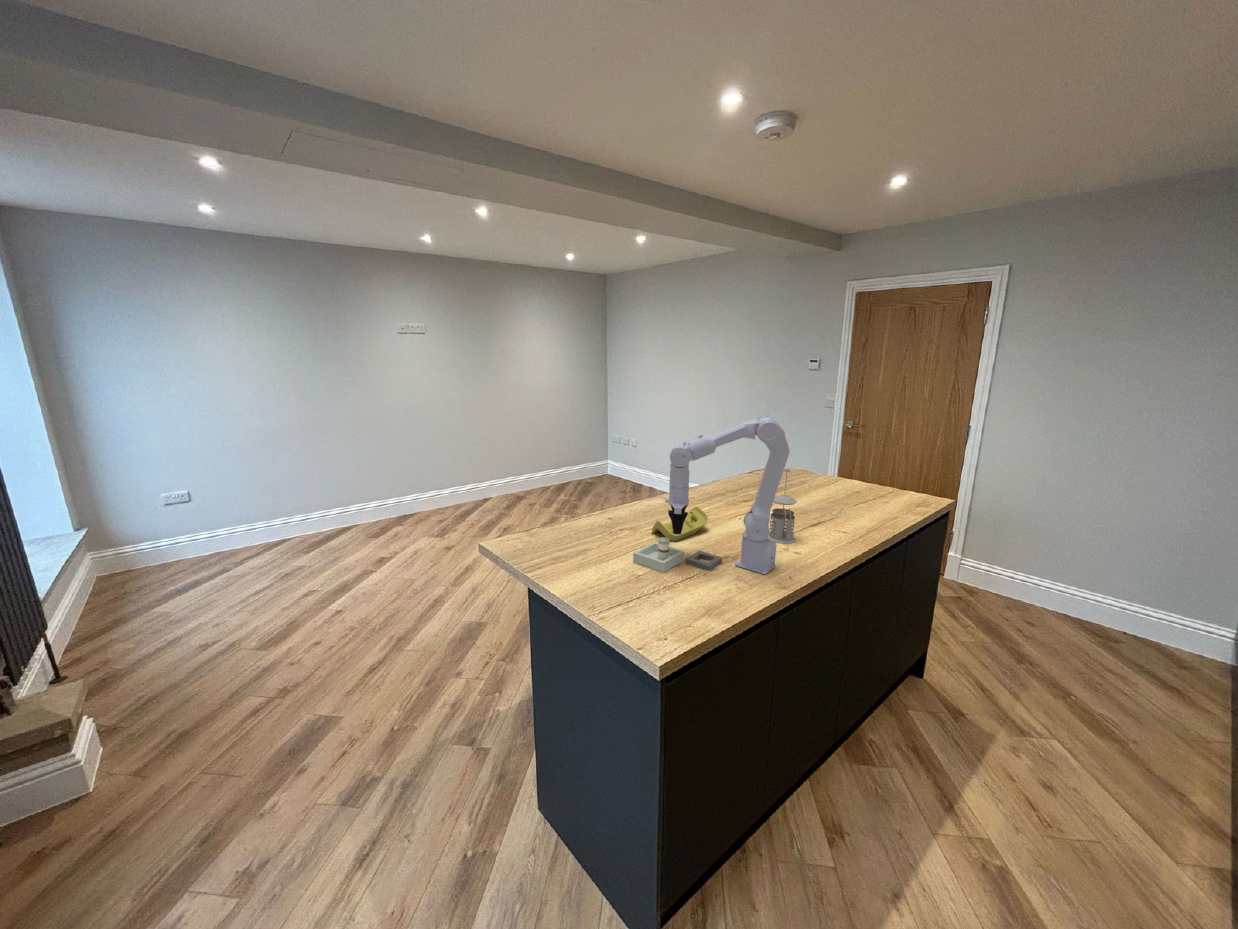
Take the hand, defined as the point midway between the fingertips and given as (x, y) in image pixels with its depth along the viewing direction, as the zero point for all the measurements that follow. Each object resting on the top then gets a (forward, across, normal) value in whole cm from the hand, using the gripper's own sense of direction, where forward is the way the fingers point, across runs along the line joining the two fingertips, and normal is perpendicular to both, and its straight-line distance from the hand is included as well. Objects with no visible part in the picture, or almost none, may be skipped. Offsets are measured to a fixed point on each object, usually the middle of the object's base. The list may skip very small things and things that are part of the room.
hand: (677, 529), depth 139 cm
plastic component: (+10, -23, +1) cm, 25 cm away
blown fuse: (+9, +2, -4) cm, 10 cm away
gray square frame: (+10, +1, +8) cm, 13 cm away
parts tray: (+10, +3, -5) cm, 11 cm away
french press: (+10, -22, +35) cm, 43 cm away
